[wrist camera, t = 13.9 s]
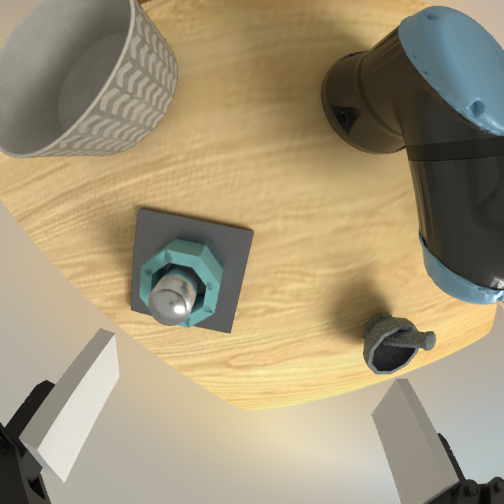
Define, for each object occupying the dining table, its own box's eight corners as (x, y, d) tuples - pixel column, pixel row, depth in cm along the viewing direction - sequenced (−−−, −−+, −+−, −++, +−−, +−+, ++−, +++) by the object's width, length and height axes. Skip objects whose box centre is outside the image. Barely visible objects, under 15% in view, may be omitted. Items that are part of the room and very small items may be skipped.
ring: (155, 234, 36) (143, 244, 31) (227, 249, 37) (224, 261, 32) (149, 298, 39) (138, 315, 34) (214, 313, 40) (210, 332, 35)
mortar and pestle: (379, 356, 44) (404, 400, 33) (343, 341, 43) (366, 389, 32) (416, 308, 42) (452, 345, 30) (383, 288, 40) (420, 326, 29)
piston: (141, 207, 36) (104, 223, 26) (253, 230, 37) (255, 256, 27) (133, 307, 40) (105, 345, 30) (230, 329, 42) (226, 376, 31)
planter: (207, 107, 32) (171, 57, 15) (96, 181, 34) (8, 200, 17) (152, 17, 27) (104, -47, 10) (56, 89, 29) (-21, 70, 12)
